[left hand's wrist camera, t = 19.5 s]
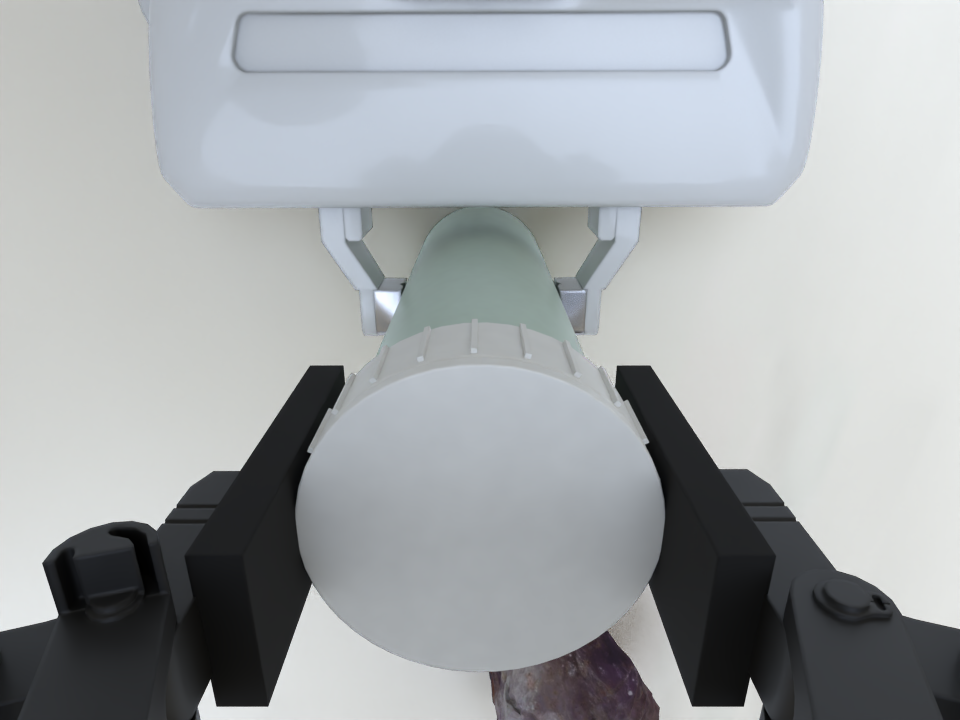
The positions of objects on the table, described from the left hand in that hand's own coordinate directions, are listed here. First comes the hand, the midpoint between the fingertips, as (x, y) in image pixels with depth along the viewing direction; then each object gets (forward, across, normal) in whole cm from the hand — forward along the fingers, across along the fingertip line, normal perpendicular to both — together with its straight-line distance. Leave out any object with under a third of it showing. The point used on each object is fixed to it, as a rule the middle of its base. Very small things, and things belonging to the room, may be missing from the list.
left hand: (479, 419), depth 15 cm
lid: (-4, 0, 0) cm, 4 cm away
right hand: (+9, 0, -1) cm, 9 cm away
